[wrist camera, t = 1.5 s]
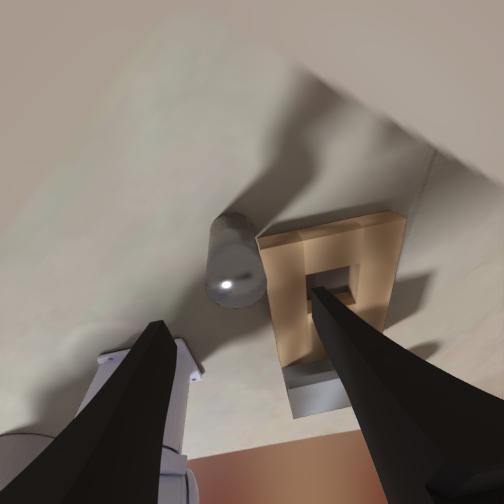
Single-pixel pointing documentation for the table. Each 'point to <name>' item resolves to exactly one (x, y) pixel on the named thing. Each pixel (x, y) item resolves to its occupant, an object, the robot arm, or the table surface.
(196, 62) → the table surface
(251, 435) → the table surface
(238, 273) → the peg
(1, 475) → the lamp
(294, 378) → the socket board
